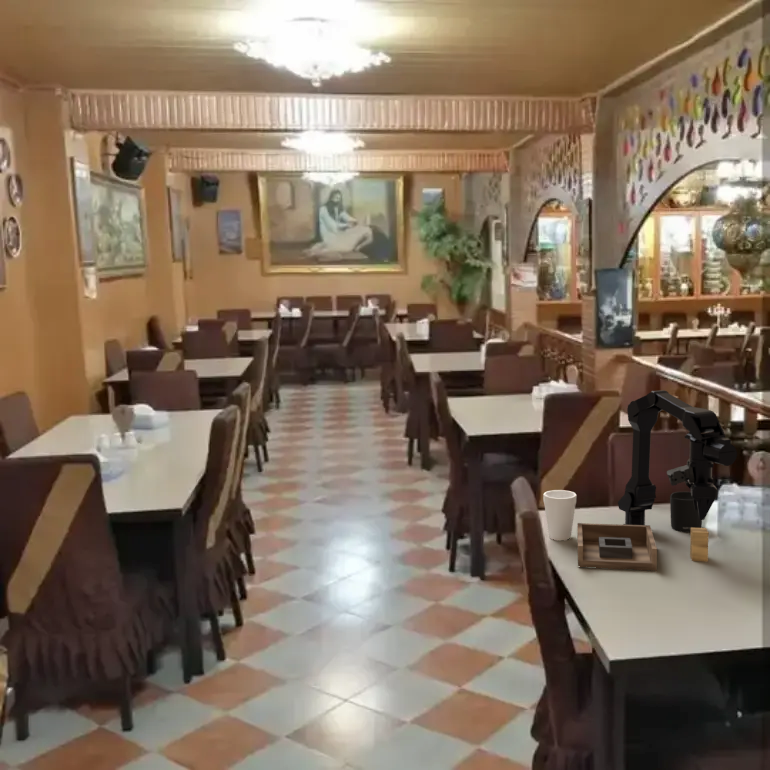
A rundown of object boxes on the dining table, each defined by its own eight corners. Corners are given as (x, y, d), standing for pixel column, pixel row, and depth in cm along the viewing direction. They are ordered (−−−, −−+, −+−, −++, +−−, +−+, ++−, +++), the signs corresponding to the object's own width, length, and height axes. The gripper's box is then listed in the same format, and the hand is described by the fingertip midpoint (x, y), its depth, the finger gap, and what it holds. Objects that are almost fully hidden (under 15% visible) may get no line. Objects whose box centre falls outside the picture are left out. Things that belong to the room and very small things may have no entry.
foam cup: (573, 543, 254) (573, 499, 252) (541, 541, 257) (541, 497, 255) (577, 533, 263) (577, 491, 261) (546, 531, 266) (546, 489, 264)
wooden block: (690, 555, 241) (690, 527, 240) (705, 556, 241) (706, 528, 239) (692, 560, 237) (692, 532, 236) (707, 561, 237) (708, 532, 236)
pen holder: (663, 528, 266) (664, 496, 264) (679, 521, 272) (680, 489, 270) (692, 535, 259) (693, 502, 257) (708, 527, 265) (709, 495, 263)
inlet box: (577, 543, 254) (577, 523, 253) (649, 545, 250) (650, 525, 249) (578, 567, 235) (578, 545, 234) (656, 570, 231) (656, 548, 230)
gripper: (665, 449, 246) (664, 503, 248) (673, 465, 228) (671, 524, 230) (707, 450, 243) (706, 505, 246) (718, 466, 225) (717, 525, 228)
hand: (699, 514), depth 237 cm, fingers open, 9 cm apart
